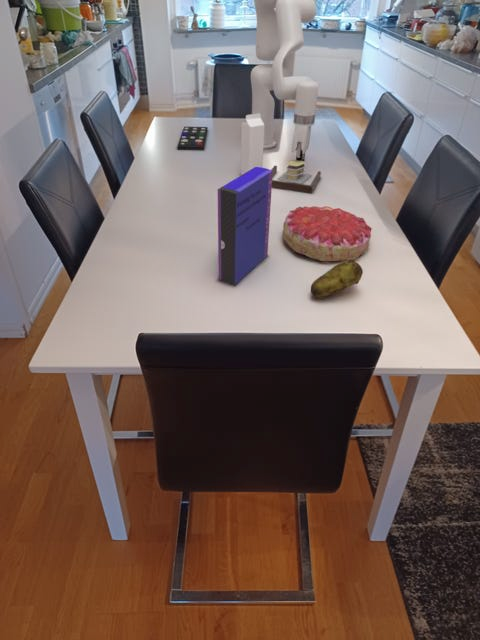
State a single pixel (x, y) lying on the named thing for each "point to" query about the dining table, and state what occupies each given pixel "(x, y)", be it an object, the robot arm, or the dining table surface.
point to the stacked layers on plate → (295, 172)
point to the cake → (326, 233)
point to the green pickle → (337, 279)
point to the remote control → (193, 138)
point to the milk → (252, 143)
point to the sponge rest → (295, 184)
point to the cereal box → (243, 224)
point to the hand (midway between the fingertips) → (299, 169)
